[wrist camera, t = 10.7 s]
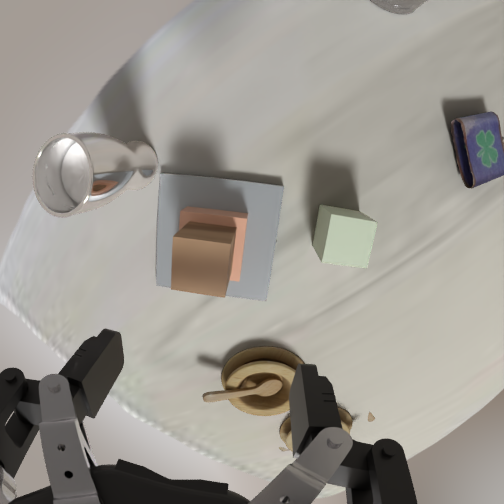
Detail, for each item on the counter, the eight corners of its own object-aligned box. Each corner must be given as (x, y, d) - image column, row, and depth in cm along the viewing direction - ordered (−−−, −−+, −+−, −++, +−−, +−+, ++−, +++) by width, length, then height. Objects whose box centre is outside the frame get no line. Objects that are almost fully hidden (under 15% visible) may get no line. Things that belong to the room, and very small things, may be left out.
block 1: (189, 221, 30) (172, 236, 24) (236, 227, 30) (230, 244, 24) (186, 265, 32) (170, 289, 26) (231, 272, 32) (224, 297, 26)
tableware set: (376, 417, 45) (384, 439, 40) (289, 456, 50) (291, 478, 44) (294, 316, 39) (298, 342, 33) (188, 376, 43) (180, 403, 37)
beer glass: (165, 189, 33) (101, 213, 19) (114, 197, 34) (38, 225, 19) (158, 132, 31) (90, 119, 17) (108, 143, 31) (27, 144, 17)
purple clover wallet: (459, 118, 25) (503, 109, 24) (445, 119, 28) (490, 110, 27) (475, 190, 28) (516, 172, 27) (461, 187, 31) (503, 170, 30)
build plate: (163, 172, 33) (151, 175, 29) (283, 185, 33) (286, 189, 29) (158, 282, 37) (148, 295, 33) (266, 297, 37) (266, 313, 33)
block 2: (319, 204, 33) (331, 214, 27) (359, 211, 33) (377, 222, 28) (312, 245, 35) (321, 262, 29) (351, 250, 35) (366, 268, 29)
